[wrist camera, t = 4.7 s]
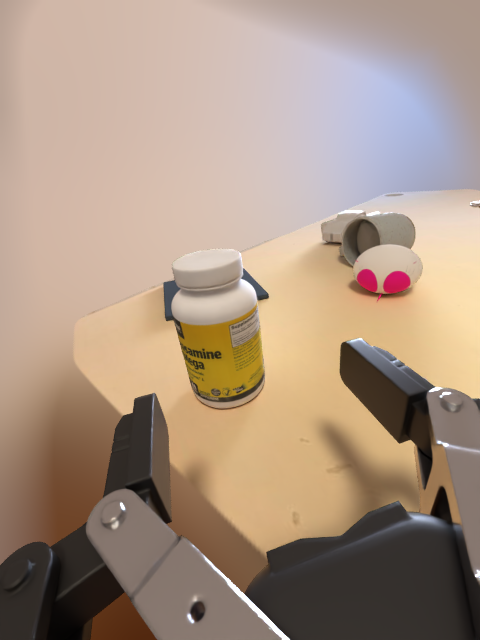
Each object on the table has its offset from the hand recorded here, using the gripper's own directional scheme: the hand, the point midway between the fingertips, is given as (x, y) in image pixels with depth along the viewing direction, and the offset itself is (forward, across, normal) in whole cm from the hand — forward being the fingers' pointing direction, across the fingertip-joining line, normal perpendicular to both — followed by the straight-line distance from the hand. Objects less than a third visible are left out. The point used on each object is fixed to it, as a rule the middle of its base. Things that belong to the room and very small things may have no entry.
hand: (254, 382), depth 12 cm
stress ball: (+19, -22, +8) cm, 30 cm away
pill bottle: (+10, 0, +8) cm, 13 cm away
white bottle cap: (+51, -76, +8) cm, 92 cm away
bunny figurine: (+46, -35, +8) cm, 58 cm away
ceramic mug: (+30, -28, +8) cm, 42 cm away
